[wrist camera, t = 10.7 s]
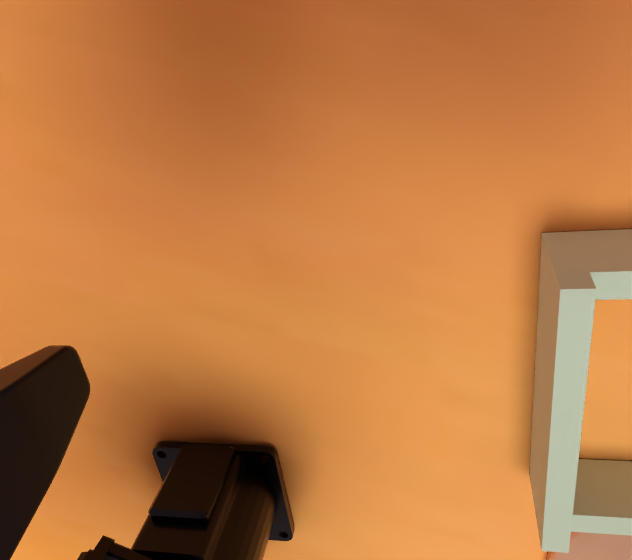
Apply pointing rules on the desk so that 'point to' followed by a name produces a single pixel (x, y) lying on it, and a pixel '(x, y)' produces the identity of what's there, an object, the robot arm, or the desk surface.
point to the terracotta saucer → (596, 547)
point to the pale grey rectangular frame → (574, 388)
